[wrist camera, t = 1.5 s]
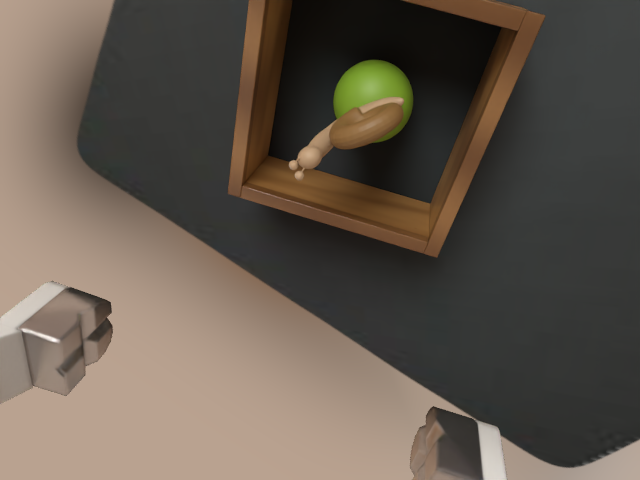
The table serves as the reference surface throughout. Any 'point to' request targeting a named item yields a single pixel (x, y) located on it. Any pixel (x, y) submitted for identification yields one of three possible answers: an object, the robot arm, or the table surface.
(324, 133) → the snail figurine
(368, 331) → the table surface
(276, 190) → the open wooden box
